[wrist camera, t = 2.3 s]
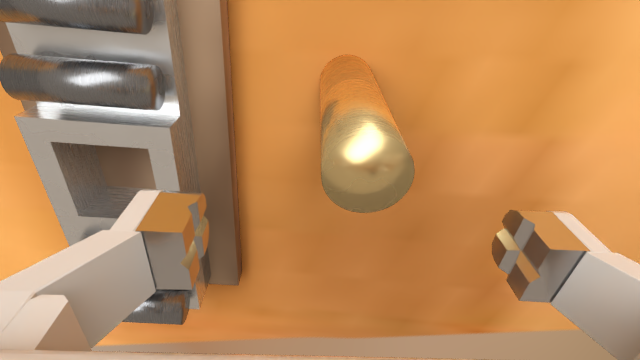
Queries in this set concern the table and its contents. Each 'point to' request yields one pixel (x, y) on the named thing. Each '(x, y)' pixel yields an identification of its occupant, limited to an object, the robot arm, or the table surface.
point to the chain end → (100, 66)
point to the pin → (360, 140)
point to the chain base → (208, 130)
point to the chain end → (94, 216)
